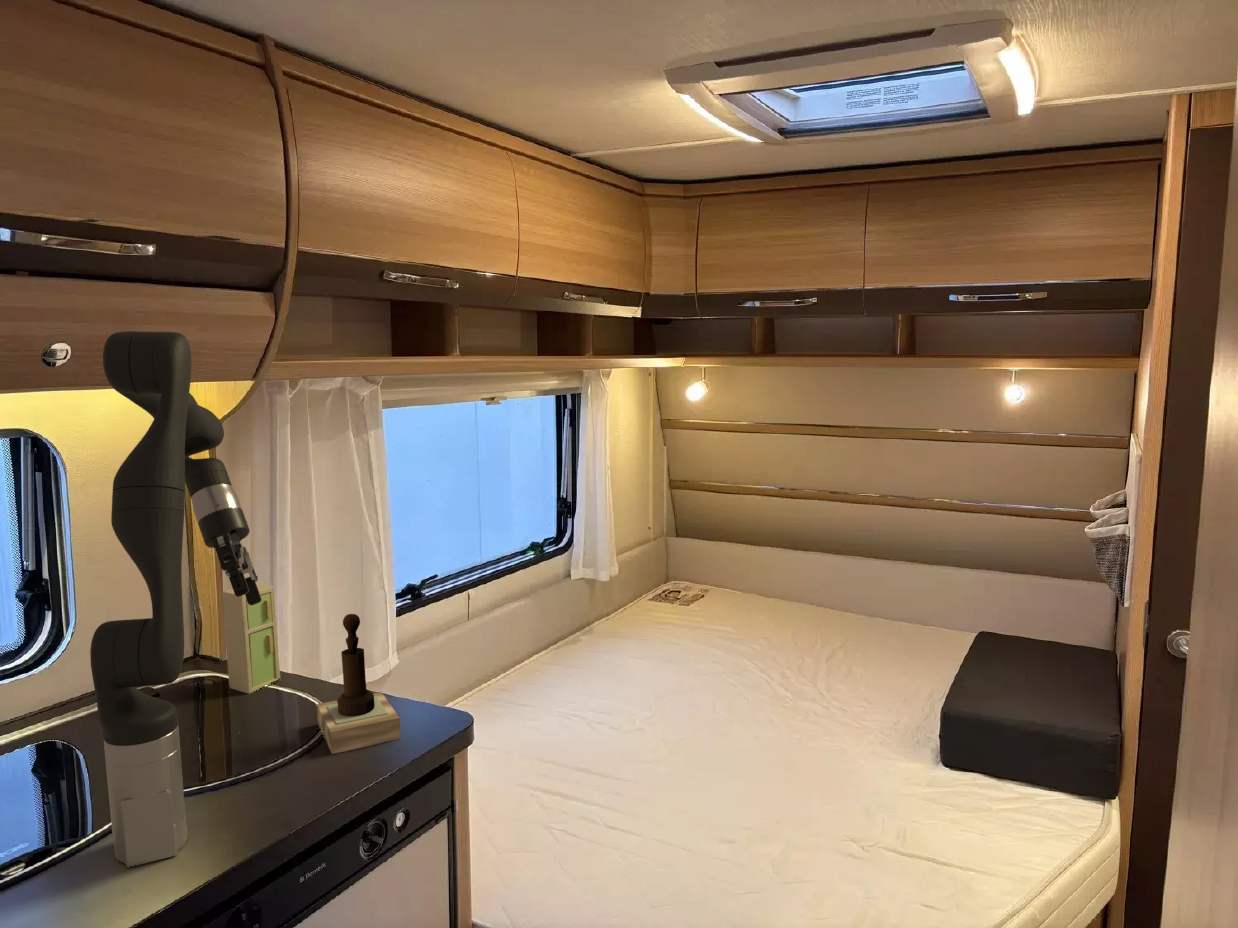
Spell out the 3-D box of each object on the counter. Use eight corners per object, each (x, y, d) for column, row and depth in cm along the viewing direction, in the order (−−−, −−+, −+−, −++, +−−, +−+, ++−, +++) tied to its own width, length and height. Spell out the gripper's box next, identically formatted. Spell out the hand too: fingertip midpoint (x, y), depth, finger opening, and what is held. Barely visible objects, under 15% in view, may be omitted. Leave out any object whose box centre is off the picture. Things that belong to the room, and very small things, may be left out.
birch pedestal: (400, 738, 159) (399, 716, 158) (332, 753, 153) (330, 730, 153) (382, 711, 171) (381, 690, 170) (317, 724, 165) (316, 702, 165)
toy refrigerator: (250, 695, 180) (243, 595, 177) (228, 688, 184) (220, 590, 181) (283, 682, 187) (277, 586, 184) (261, 676, 190) (254, 581, 188)
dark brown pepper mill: (331, 709, 162) (325, 614, 159) (363, 699, 166) (358, 606, 164) (349, 719, 157) (343, 622, 155) (381, 708, 161) (376, 614, 159)
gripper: (230, 496, 149) (261, 582, 145) (251, 518, 163) (280, 597, 159) (185, 512, 147) (215, 600, 144) (210, 533, 161) (238, 614, 157)
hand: (249, 599), depth 151 cm, fingers open, 8 cm apart
